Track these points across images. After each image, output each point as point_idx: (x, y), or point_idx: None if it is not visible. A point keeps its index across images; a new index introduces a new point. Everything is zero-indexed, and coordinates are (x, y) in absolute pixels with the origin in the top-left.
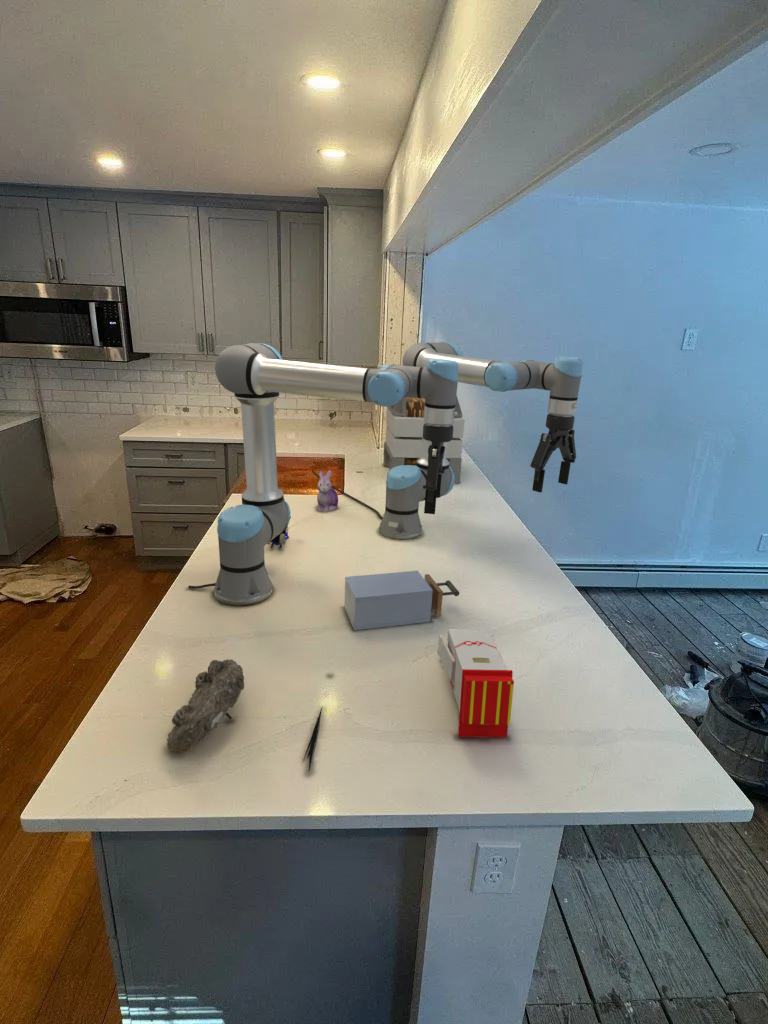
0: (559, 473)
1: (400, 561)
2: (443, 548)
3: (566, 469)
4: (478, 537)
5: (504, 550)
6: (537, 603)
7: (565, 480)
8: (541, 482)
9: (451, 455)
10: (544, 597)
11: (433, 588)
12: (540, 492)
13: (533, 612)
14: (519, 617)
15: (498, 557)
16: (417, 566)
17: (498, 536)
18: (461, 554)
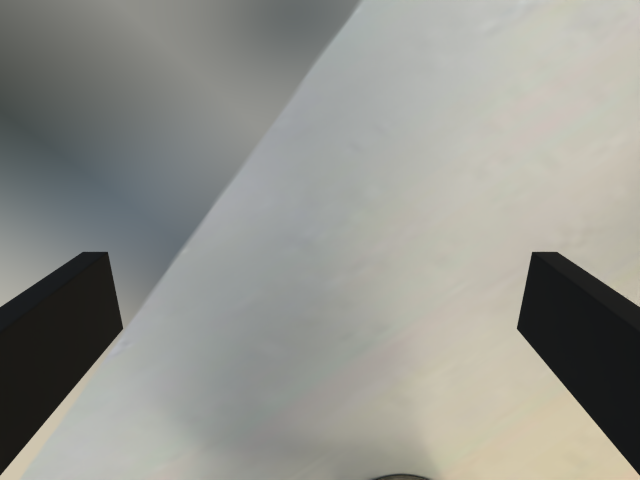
0: (73, 386)
1: (543, 414)
2: (394, 406)
3: (2, 363)
4: (253, 400)
5: (264, 310)
6: (510, 31)
7: (89, 280)
8: (629, 304)
9: None
10: (456, 40)
11: None
12: (555, 253)
13: (575, 2)
14: (633, 13)
15: (321, 292)
16: (538, 376)
17: (196, 375)
18: (388, 359)
